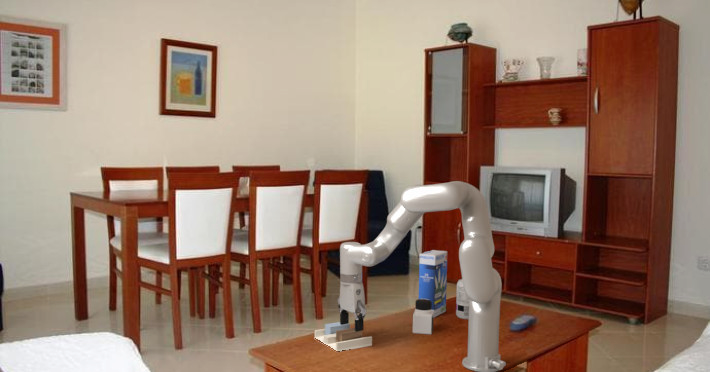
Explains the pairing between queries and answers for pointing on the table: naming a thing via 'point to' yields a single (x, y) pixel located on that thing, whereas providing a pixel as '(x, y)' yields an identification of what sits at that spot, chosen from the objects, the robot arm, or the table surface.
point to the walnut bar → (347, 334)
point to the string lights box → (433, 279)
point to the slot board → (342, 345)
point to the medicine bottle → (423, 317)
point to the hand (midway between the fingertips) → (351, 327)
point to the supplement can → (462, 301)
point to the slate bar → (335, 327)
